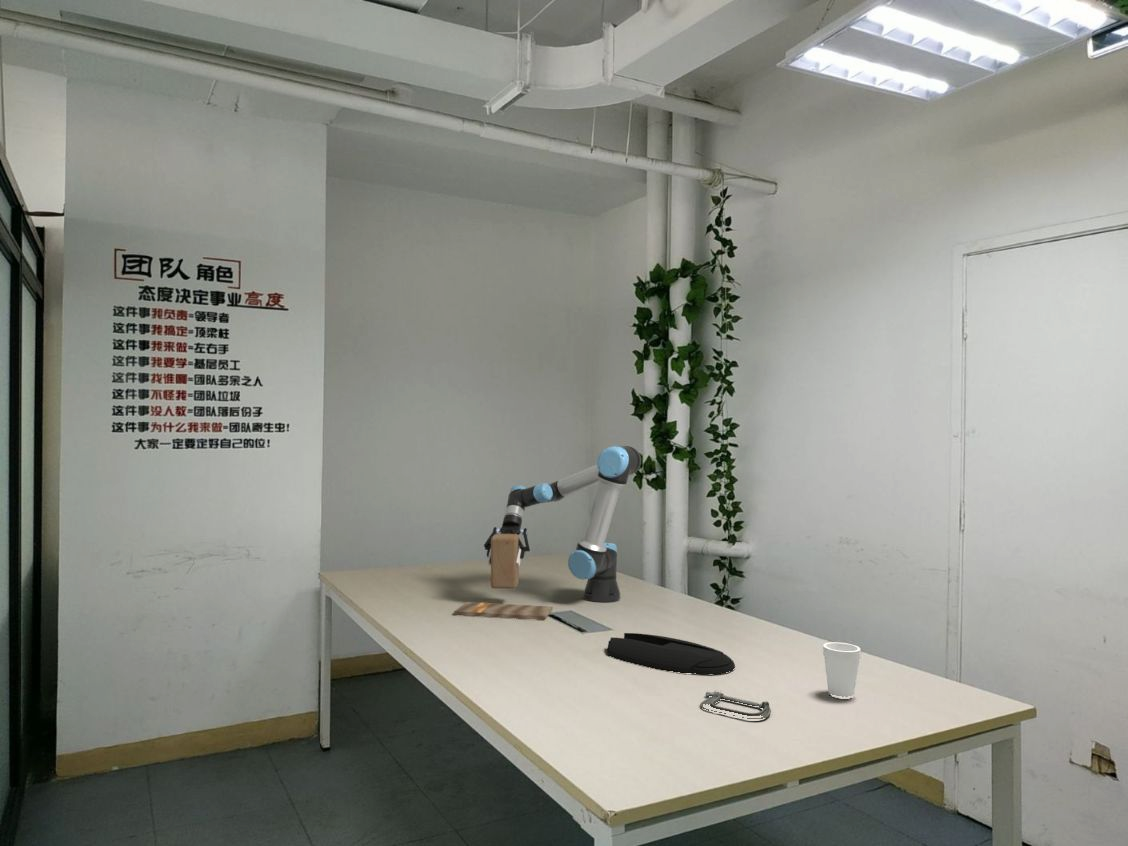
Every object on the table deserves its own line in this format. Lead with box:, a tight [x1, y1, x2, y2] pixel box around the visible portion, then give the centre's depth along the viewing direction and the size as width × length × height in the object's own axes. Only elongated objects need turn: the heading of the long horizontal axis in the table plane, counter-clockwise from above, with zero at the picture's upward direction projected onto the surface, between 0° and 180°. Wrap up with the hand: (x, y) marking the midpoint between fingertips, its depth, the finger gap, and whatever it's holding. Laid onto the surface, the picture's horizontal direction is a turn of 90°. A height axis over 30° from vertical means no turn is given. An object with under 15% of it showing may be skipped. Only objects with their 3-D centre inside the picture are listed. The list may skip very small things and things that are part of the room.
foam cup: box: [822, 641, 862, 697], centre depth 217 cm, size 10×9×13 cm
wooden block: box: [490, 533, 520, 590], centre depth 318 cm, size 10×10×20 cm
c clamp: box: [699, 690, 772, 719], centre depth 207 cm, size 20×17×3 cm
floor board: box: [453, 601, 554, 621], centre depth 304 cm, size 34×16×2 cm, turn 81°
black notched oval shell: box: [606, 632, 736, 675], centre depth 249 cm, size 25×41×5 cm, turn 52°
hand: (503, 564), depth 315 cm, fingers closed on wooden block, 11 cm apart
